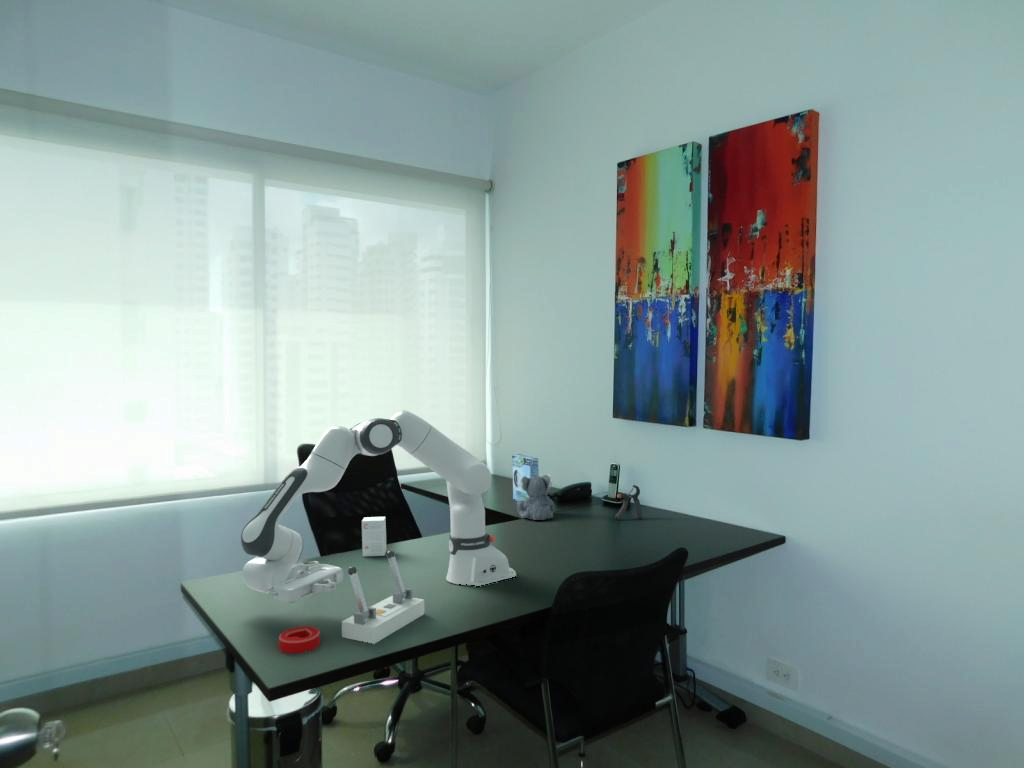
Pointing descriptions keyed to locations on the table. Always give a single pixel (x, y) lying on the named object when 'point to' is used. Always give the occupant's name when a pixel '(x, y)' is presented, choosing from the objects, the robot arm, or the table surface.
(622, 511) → the hand grip strengthener
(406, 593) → the lever
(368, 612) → the lever
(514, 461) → the light blue product box
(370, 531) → the small box
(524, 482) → the koala plush
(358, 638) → the switch unit
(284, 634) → the decorative ornament
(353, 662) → the table surface
